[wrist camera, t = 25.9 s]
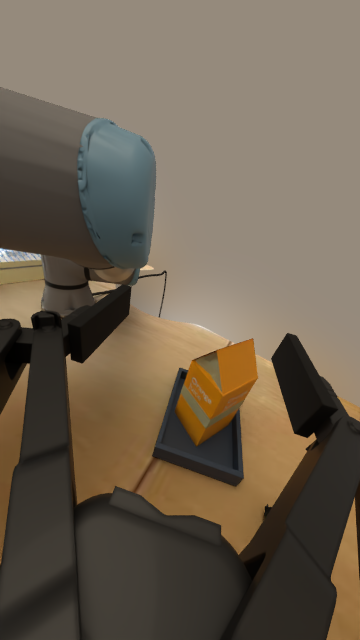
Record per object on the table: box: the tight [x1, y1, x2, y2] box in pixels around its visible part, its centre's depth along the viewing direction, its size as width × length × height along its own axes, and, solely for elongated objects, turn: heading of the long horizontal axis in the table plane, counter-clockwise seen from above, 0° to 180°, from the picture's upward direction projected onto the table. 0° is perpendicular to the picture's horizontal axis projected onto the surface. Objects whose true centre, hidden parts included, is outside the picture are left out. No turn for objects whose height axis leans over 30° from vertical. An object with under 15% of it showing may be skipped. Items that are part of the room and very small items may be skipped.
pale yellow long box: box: [0, 248, 45, 285], centre depth 70 cm, size 45×15×10 cm, turn 142°
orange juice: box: [175, 339, 258, 447], centre depth 35 cm, size 8×9×20 cm
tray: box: [152, 368, 244, 486], centre depth 39 cm, size 19×15×3 cm
